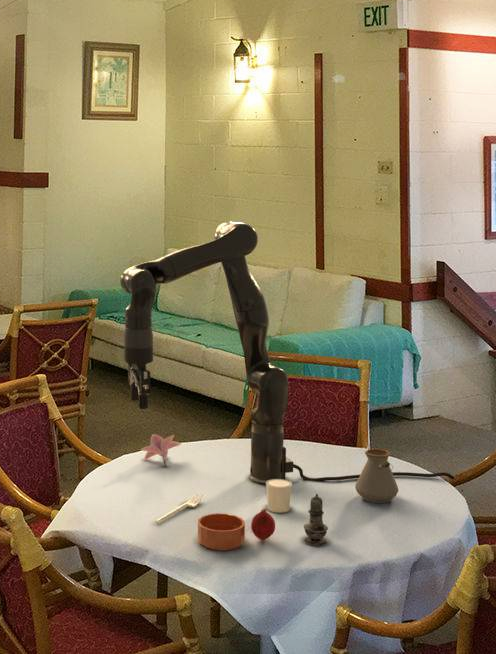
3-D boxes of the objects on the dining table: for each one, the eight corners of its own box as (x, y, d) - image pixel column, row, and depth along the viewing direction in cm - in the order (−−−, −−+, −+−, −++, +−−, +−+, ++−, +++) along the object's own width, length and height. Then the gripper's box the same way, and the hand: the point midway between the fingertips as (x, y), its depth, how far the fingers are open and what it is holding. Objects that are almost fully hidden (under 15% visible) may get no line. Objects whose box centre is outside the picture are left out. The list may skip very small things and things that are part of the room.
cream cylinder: (274, 515, 249) (275, 489, 248) (260, 506, 255) (260, 480, 254) (296, 510, 252) (297, 485, 251) (281, 502, 258) (282, 476, 257)
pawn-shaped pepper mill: (309, 534, 237) (311, 487, 235) (331, 540, 233) (333, 492, 232) (298, 542, 232) (300, 494, 230) (321, 548, 229) (322, 499, 227)
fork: (151, 522, 244) (151, 515, 243) (194, 499, 260) (194, 492, 260) (161, 525, 242) (161, 518, 241) (204, 502, 258) (204, 495, 258)
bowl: (234, 530, 239) (234, 511, 238) (251, 548, 228) (252, 528, 228) (191, 535, 236) (191, 515, 235) (207, 554, 225) (207, 533, 224)
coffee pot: (351, 490, 267) (353, 437, 265) (393, 491, 267) (395, 438, 265) (364, 519, 246) (366, 463, 244) (409, 520, 246) (412, 464, 244)
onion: (273, 546, 230) (274, 514, 229) (249, 544, 231) (250, 512, 230) (275, 536, 235) (276, 505, 234) (252, 534, 236) (252, 503, 235)
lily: (187, 463, 292) (179, 432, 295) (181, 460, 281) (172, 428, 284) (149, 474, 293) (141, 443, 296) (142, 471, 282) (134, 439, 285)
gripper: (159, 348, 247) (160, 410, 249) (145, 337, 260) (145, 396, 262) (131, 350, 245) (131, 412, 247) (118, 339, 258) (119, 398, 260)
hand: (139, 404), depth 254 cm, fingers open, 8 cm apart
